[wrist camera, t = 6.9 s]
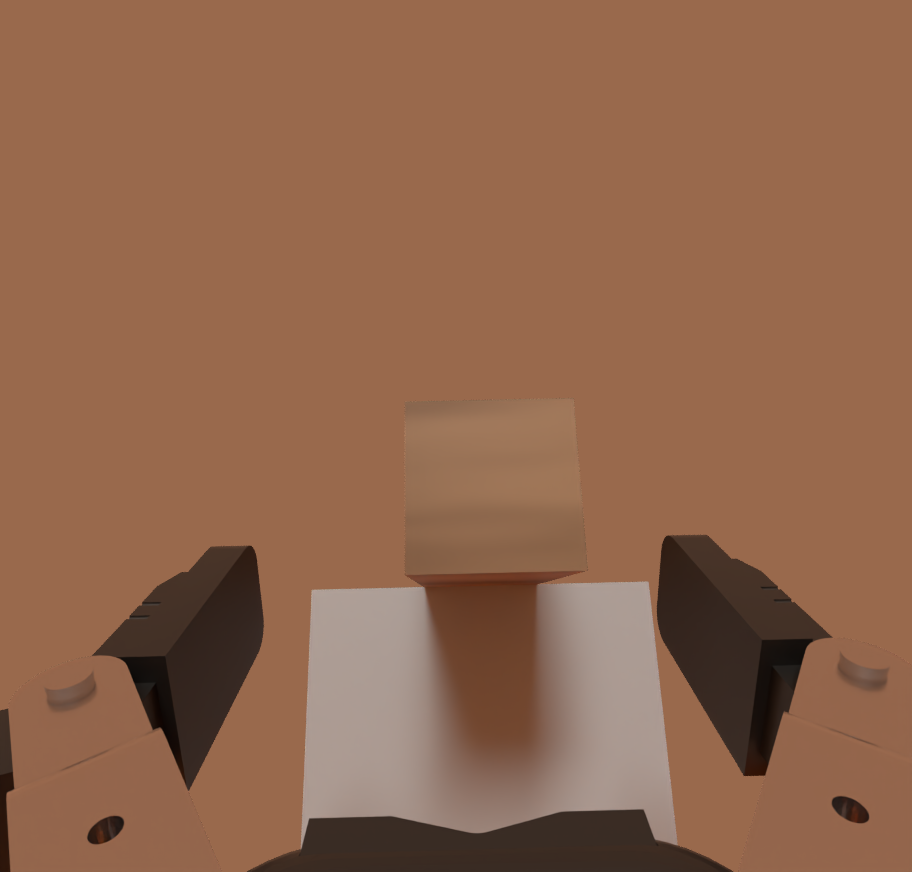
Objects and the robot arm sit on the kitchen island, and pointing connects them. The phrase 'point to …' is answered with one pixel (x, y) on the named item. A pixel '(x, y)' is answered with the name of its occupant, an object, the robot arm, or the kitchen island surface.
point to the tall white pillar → (485, 705)
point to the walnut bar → (492, 492)
